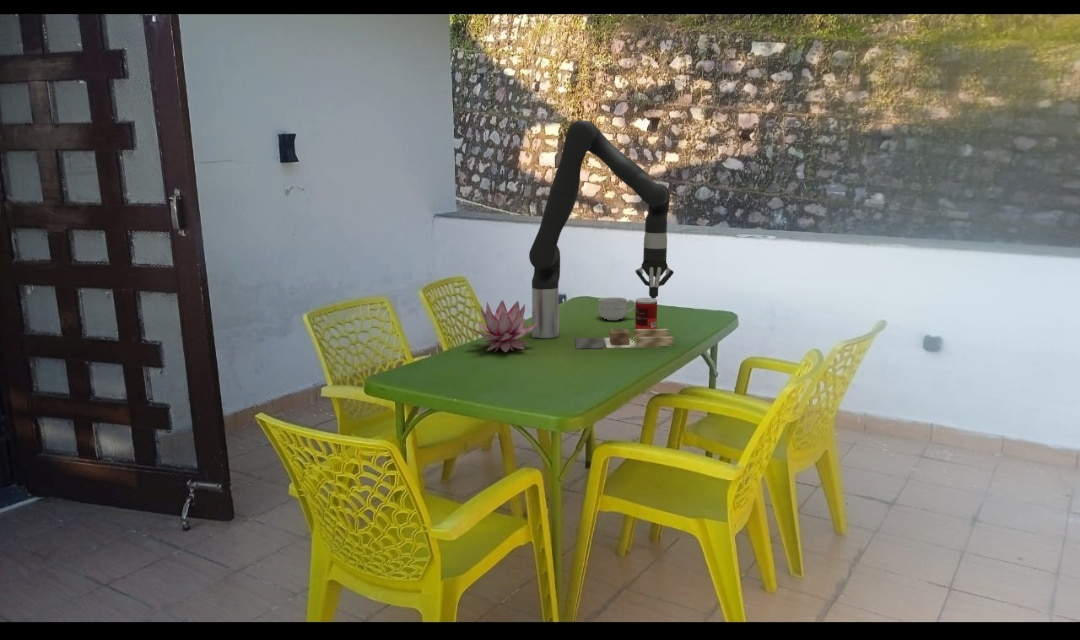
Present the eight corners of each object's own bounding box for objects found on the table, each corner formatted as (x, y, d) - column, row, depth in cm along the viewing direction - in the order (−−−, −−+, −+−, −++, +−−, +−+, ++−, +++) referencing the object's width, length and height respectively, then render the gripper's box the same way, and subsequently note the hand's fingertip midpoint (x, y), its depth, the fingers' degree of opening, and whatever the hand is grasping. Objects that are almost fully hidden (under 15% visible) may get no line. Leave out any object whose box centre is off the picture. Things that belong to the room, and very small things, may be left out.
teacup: (595, 321, 304) (595, 300, 302) (601, 315, 314) (601, 295, 312) (632, 323, 300) (632, 302, 298) (637, 317, 310) (637, 296, 308)
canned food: (656, 327, 294) (656, 297, 292) (657, 332, 286) (657, 302, 284) (634, 327, 295) (635, 297, 292) (635, 332, 287) (635, 302, 285)
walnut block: (611, 345, 269) (611, 333, 268) (609, 340, 275) (609, 329, 274) (629, 344, 269) (629, 333, 268) (627, 340, 275) (627, 328, 274)
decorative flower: (528, 359, 255) (527, 312, 251) (463, 356, 259) (461, 310, 256) (541, 342, 275) (541, 298, 272) (481, 339, 279) (479, 297, 276)
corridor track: (576, 349, 266) (576, 339, 265) (574, 339, 278) (574, 329, 278) (673, 348, 266) (674, 337, 265) (667, 338, 278) (668, 328, 278)
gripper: (636, 247, 261) (634, 300, 265) (677, 247, 261) (675, 300, 265) (633, 244, 268) (632, 295, 272) (673, 244, 268) (671, 295, 272)
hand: (653, 297), depth 268 cm, fingers closed
